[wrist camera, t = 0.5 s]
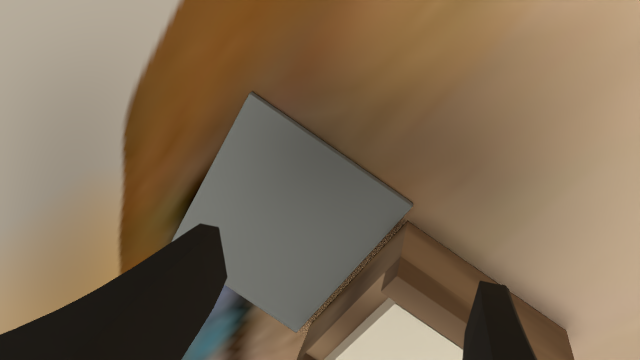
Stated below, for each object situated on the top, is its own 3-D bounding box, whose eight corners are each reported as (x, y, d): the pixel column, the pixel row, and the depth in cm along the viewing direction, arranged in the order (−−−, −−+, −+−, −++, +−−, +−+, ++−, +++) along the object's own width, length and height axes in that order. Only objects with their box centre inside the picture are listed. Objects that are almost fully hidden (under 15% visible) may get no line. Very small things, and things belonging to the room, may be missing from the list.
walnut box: (441, 412, 28) (438, 484, 24) (310, 324, 27) (287, 383, 24) (566, 330, 23) (587, 406, 19) (407, 221, 22) (397, 276, 19)
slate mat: (297, 329, 28) (296, 332, 28) (171, 244, 28) (168, 246, 27) (413, 203, 22) (412, 206, 22) (252, 91, 21) (249, 93, 21)
